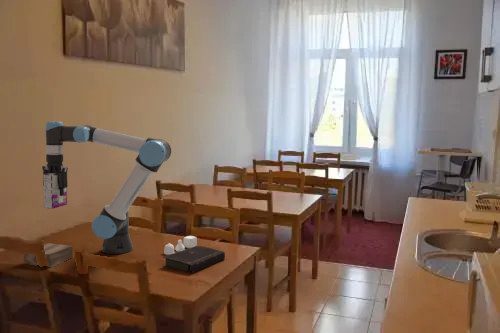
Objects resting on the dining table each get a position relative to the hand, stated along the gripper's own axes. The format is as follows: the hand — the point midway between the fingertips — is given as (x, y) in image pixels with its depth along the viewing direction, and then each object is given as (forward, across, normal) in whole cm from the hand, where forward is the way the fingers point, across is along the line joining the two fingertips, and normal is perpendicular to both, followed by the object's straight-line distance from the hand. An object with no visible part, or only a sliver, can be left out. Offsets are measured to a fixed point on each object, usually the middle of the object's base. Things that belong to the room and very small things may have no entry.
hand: (55, 201), depth 229 cm
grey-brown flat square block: (+27, -2, +7) cm, 28 cm away
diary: (+27, -66, -18) cm, 74 cm away
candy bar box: (+3, 0, 0) cm, 3 cm away
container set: (+27, -50, -34) cm, 66 cm away
